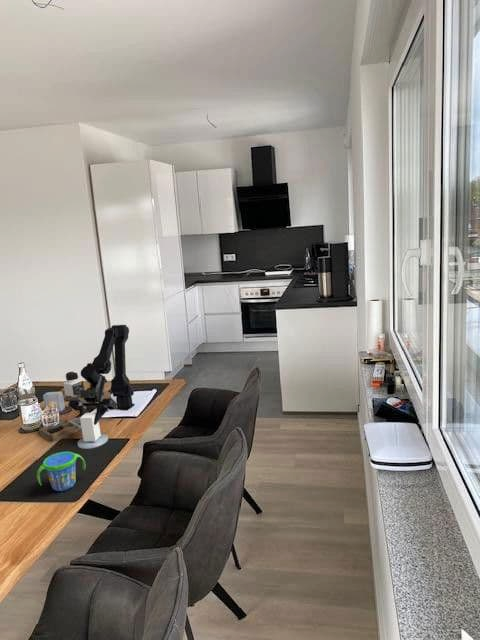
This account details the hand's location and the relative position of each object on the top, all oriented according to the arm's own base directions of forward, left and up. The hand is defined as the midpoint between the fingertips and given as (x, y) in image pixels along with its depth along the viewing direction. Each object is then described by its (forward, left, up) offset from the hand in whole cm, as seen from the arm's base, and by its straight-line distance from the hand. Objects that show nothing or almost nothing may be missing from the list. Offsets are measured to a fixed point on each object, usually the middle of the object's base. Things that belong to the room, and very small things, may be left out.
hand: (88, 424), depth 194 cm
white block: (0, -1, -7) cm, 7 cm away
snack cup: (-10, +29, -8) cm, 32 cm away
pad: (0, -1, -8) cm, 8 cm away
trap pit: (+16, -16, -8) cm, 24 cm away
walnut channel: (+21, -5, -8) cm, 23 cm away
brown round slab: (+26, -39, -9) cm, 48 cm away
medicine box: (+40, -27, -8) cm, 49 cm away
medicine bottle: (+44, -47, -8) cm, 65 cm away
